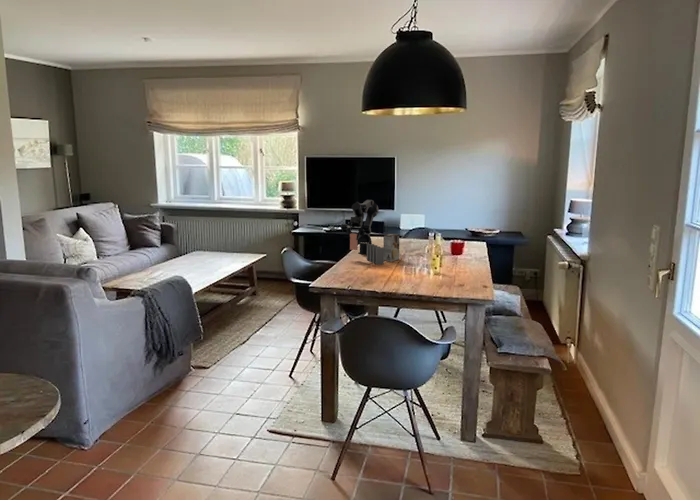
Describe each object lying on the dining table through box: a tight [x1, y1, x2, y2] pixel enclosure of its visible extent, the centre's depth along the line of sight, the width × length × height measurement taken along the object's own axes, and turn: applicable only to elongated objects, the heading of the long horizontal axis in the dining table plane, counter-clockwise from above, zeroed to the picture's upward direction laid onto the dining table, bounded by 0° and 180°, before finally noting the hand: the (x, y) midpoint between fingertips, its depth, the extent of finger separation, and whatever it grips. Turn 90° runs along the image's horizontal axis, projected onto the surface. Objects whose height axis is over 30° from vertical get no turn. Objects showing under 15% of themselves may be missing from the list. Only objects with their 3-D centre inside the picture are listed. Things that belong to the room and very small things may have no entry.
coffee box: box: [383, 233, 400, 262], centre depth 337 cm, size 9×6×16 cm
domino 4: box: [375, 246, 385, 266], centre depth 325 cm, size 2×4×10 cm, turn 112°
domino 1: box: [366, 243, 375, 262], centre depth 337 cm, size 2×4×10 cm, turn 112°
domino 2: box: [369, 244, 378, 263], centre depth 333 cm, size 2×4×10 cm, turn 112°
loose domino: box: [349, 232, 359, 251], centre depth 337 cm, size 2×4×10 cm, turn 72°
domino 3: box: [372, 245, 381, 264], centre depth 329 cm, size 2×4×10 cm, turn 112°
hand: (353, 239), depth 336 cm, fingers closed on loose domino, 4 cm apart
